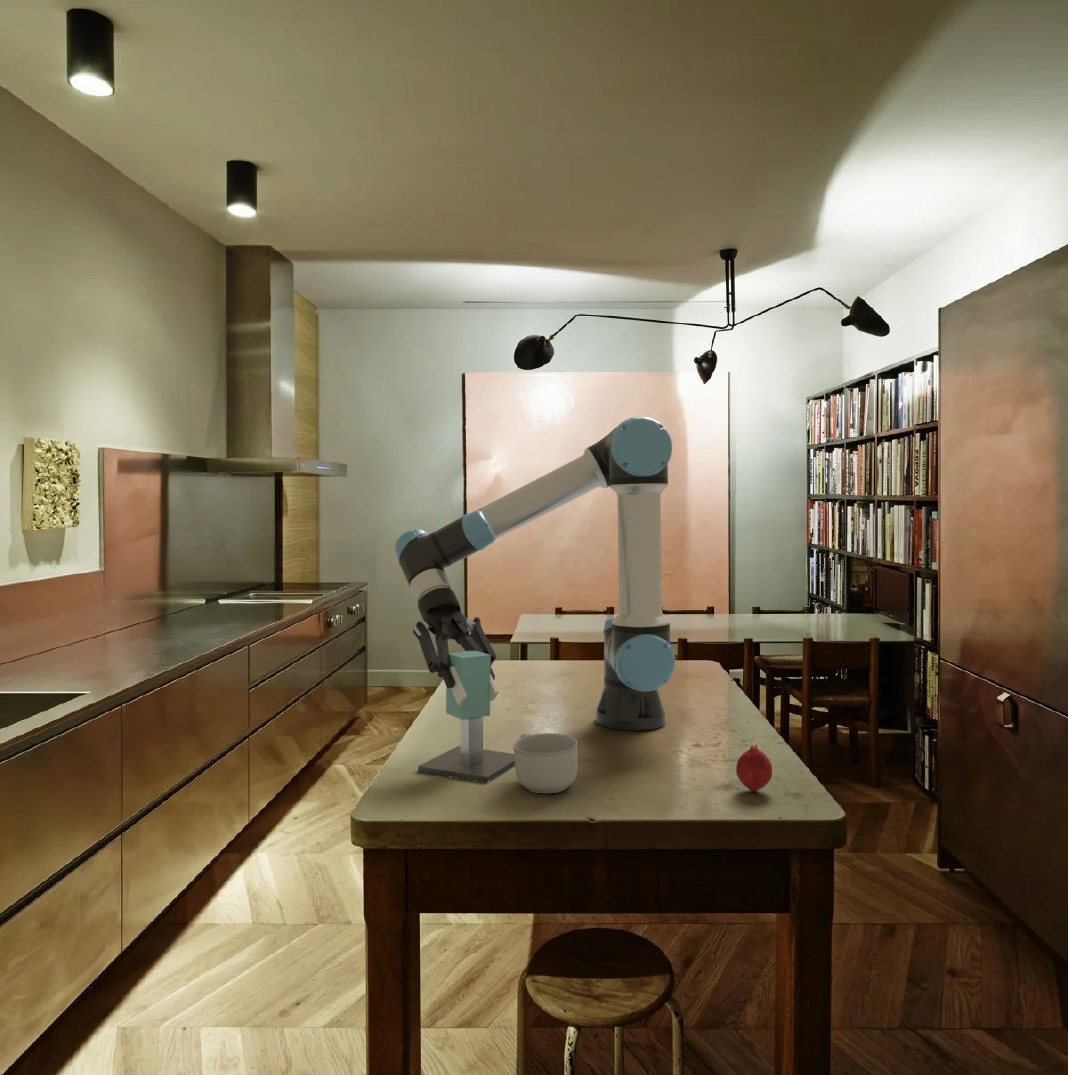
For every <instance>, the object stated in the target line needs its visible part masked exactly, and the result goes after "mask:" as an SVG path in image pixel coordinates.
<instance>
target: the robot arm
mask: <svg viewBox="0 0 1068 1075" xmlns="http://www.w3.org/2000/svg"><path fill="white" fill-rule="evenodd" d="M671 438H672V437H671V435H670V433H669V431H668V429H667V428H666V427H665V426H664V425H663V424H662V423H660V422H659V421H658V420H655V419H653V418H651V417H648V416H647V417H646V416H637V417H631V418H626V419H625V420H624V421H622V422H620V423H619V424H618V425H617V426H616V427H614V428H613V429H612V430H611V431H610V432H609V433H608V434H606V435H605V436H604V437H603V438H601V439H600V440H599V441H597V442H595V443H594V444H592V445H590V446H588V447H586V448H585V449H584V451H583V454H582V455H580V456H578V457H577V458H575V459H573V460H571V461H570V462H569V461H568V462H567V463H565V464H563V465H561V466H559V467H557V468H556V469H554V470H552V471H550V472H548V473H545V474H544V475H542V476H540V477H538V478H536V479H534V480H533V481H530V482H529V483H526V484H524V485H523V486H520V487H519V488H516V489H514V490H513V491H511V492H509V493H507V494H505V495H503V496H501V497H499V498H498V499H497V498H496V499H495V500H494V501H492V502H490V503H488V504H486V505H484V506H482V507H480V508H479V509H476V510H474V511H472V512H470V513H466V514H464V515H463V516H460V517H459V518H458V519H456V520H453V521H451V522H450V523H448V524H446V525H445V526H442V527H441V528H439V529H437V530H435V531H433V532H430V533H429V534H428V532H427V531H426V530H423V529H418V528H417V529H414V530H408V531H406V532H403V533H402V534H401V535H400V536H399V537H398V538H397V540H396V541H395V544H394V551H395V552H396V556H397V559H398V565H399V566H400V568H401V570H402V572H403V575H404V576H405V579H406V582H407V584H408V586H409V589H410V591H411V594H412V595H413V596H412V597H413V598H414V601H415V603H416V605H417V608H418V611H419V614H420V616H421V618H422V621H423V622H422V621H418V622H416V624H415V626H414V628H413V630H412V633H413V635H414V636H415V637H416V638H417V640H418V642H419V645H420V648H421V650H422V654H423V657H424V660H425V663H426V667H427V668H428V672H430V673H431V674H434V673H437V676H438V677H439V678H442V679H443V682H444V685H445V687H447V688H451V690H452V692H453V695H454V697H455V699H456V702H457V704H458V706H461V705H462V704H463V703H464V701H465V700H466V698H467V695H466V692H465V690H464V688H463V685H462V683H461V681H460V678H459V676H458V673H457V671H456V669H455V666H453V667H450V668H449V666H450V662H449V653H450V652H449V643H448V640H454V641H455V642H456V644H458V645H460V646H461V647H462V649H463V651H472V650H474V651H478V652H482V653H485V654H489V655H490V702H494V700H495V699H496V697H497V696H498V695H499V693H500V692H499V689H498V687H497V685H496V683H495V679H496V675H495V673H494V670H493V668H492V665H493V664H494V663H495V660H497V654H496V653H495V651H494V648H493V647H492V645H491V643H490V641H489V639H488V637H487V635H486V633H485V631H484V630H483V628H482V622H481V618H479V617H478V616H475V617H474V619H471V618H467V616H466V615H465V614H463V612H462V610H461V605H460V602H459V599H458V598H457V596H456V594H455V592H454V590H453V586H452V584H451V582H450V579H449V577H448V576H447V574H446V571H445V569H446V568H448V567H450V566H452V565H453V564H456V563H458V562H460V561H461V560H464V559H466V558H469V557H470V556H471V555H473V554H475V553H477V552H479V551H482V550H484V549H485V548H487V547H488V546H490V545H492V544H493V543H494V542H495V541H496V540H497V539H499V538H502V537H504V536H505V535H507V534H509V533H511V532H513V531H515V530H517V529H519V528H521V527H523V526H525V525H526V524H529V523H530V522H533V521H535V520H537V519H539V518H540V517H543V516H544V515H546V514H549V513H550V512H552V511H554V510H556V509H558V508H560V507H562V506H564V505H566V504H568V503H570V502H572V501H573V500H575V499H578V498H579V497H581V496H584V495H586V494H587V493H589V492H591V491H593V490H595V489H598V488H599V487H600V488H603V489H607V488H611V490H612V491H613V492H614V493H616V495H617V496H616V497H617V547H618V549H617V550H618V552H617V553H618V554H617V555H618V557H617V558H618V559H617V560H618V599H619V600H618V608H619V609H618V614H617V616H616V617H609V618H607V619H606V620H605V621H604V627H603V630H602V631H603V632H602V633H603V636H604V641H603V642H604V643H603V649H604V650H603V658H604V660H603V662H604V663H603V688H602V692H601V695H600V698H599V701H598V704H597V707H596V710H595V722H596V723H597V724H598V725H600V726H602V727H605V728H609V729H613V730H621V731H622V730H623V731H648V730H654V729H658V728H661V727H663V726H665V724H666V711H665V708H664V704H663V701H662V697H661V694H660V691H659V689H660V688H662V687H663V686H665V684H667V683H668V682H669V681H670V680H671V677H672V676H673V674H674V672H675V671H674V670H675V668H676V657H675V651H674V649H673V647H672V645H671V621H670V620H669V618H668V617H667V616H665V615H664V613H663V579H662V577H663V576H662V572H663V571H662V516H661V513H662V510H661V508H662V506H661V505H662V504H661V503H662V500H661V498H662V497H661V495H662V493H663V491H665V489H666V488H667V487H668V486H669V463H670V460H671V457H672V453H673V442H672V439H671ZM430 633H431V634H433V635H434V638H435V640H434V641H435V644H434V642H433V639H432V637H431V634H430ZM435 645H436V648H435Z"/></svg>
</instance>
